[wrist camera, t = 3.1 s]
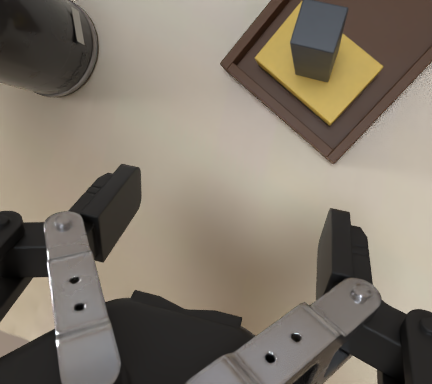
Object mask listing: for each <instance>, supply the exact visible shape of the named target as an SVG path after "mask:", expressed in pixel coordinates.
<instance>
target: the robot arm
mask: <svg viewBox="0 0 432 384" xmlns="http://www.w3.org/2000/svg"><path fill="white" fill-rule="evenodd" d="M97 49H98V43H97V35H96V31H95V28H94V25H93V23H92V21H91V19H90V18H89V16H88V15H87V14H86V12H85V11H84V10H83V9H82V8H80V7H79V6H78V5H76V4H75V3H73V2H72V1H70V0H0V83H3V84H7V85H10V86H14V87H18V88H21V89H25V90H29V91H33V92H35V93H37V94H40V95H44V96H48V97H61V96H65V95H68V94H70V93H72V92H74V91H75V90H77V89H78V88H79V87H81V86H82V85H83V84H84V82H85V81H86V80H87V79H88V77H89V76H90V74H91V72H92V70H93V68H94V65H95V62H96V58H97ZM140 203H141V171H140V168H139V167H134V166H130V165H125V164H121V165H120V166H119V167H118V169H117V170H116V171H115V172H114V173H113V174H112V173H107V174H105V175H103V176H101V177H99V178H98V179H97V180H96V181H95V182H94V183H93V184H92V185H91V187H89V189H88V190H87V191H86V193H84V194H83V195H82V196H81V197H80V199H79V200H78V201H77V202H76V203H75V204H74V205H73V206H72V207H71V209H70V210H69V211H64V212H59V213H55V214H53V215H51V216H50V217H48V218H47V219H46V220H45V222H34V223H23V220H22V217H21V215H20V214H18V213H16V212H13V211H1V212H0V322H1V320H2V319H3V318H4V316H5V315H6V314H7V312H8V311H9V310H10V308H11V307H12V305H13V304H14V303H15V301H16V300H17V299H18V297H19V296H20V295H21V293H22V292H23V291H24V289H25V288H26V287H27V285H28V284H29V282H30V281H31V280H32V278H33V277H49V283H50V291H51V299H52V307H53V315H54V323H55V329H53V330H51V331H50V332H48V333H46V334H44V335H42V336H40V337H38V338H36V339H35V340H33V341H31V342H29V343H27V344H25V345H23V346H21V347H20V348H18V349H16V350H14V351H12V352H10V353H8V354H7V355H5V356H3V357H1V358H0V384H323V383H324V382H325V381H326V380H327V379H329V378H330V377H331V376H332V375H333V374H334V373H335V372H336V371H337V370H338V369H339V368H340V367H341V366H342V365H343V364H344V363H345V362H346V361H347V360H348V359H350V358H351V357H352V356H355V357H356V358H358V359H360V360H362V361H363V362H365V363H367V364H369V365H370V366H372V367H374V368H376V369H377V380H378V384H432V313H431V312H429V311H426V310H421V309H415V310H412V311H410V312H409V313H408V314H405V313H403V312H401V311H399V310H397V309H395V308H393V307H391V306H389V305H388V304H386V303H385V302H384V301H382V300H381V295H380V293H379V291H378V290H377V289H376V288H375V287H374V286H373V283H372V274H371V266H370V257H369V249H368V241H367V236H366V235H365V233H364V232H363V230H362V229H361V227H357V226H352V225H351V221H350V212H346V211H342V210H337V209H332V208H330V210H329V212H328V215H327V218H326V221H325V224H324V227H323V230H322V233H321V237H320V240H319V245H318V254H317V282H316V301H315V302H314V303H312V304H311V305H308V304H307V303H305V302H304V303H301V304H299V305H298V306H297V307H295V308H294V309H292V310H291V311H290V312H288V313H287V314H286V315H284V316H283V317H281V318H280V319H279V320H277V321H276V322H275V323H273V324H272V325H271V326H269V327H268V328H266V329H265V330H264V331H262V332H261V333H260V334H258V335H257V336H255V335H253V334H252V333H251V332H250V331H248V330H247V329H245V328H243V327H241V321H242V317H238V316H234V315H230V314H227V313H223V312H219V311H213V310H187V309H183V308H181V307H179V306H177V305H176V304H174V303H172V302H170V301H168V300H166V299H164V298H162V297H160V296H156V295H152V294H149V293H145V292H141V291H137V290H135V291H134V292H133V294H132V296H131V298H121V299H115V300H111V301H108V302H105V300H104V297H103V293H102V289H101V285H100V281H99V277H98V273H97V269H96V265H95V261H99V262H104V261H105V259H106V258H107V256H108V255H109V253H110V252H111V250H112V249H113V247H114V246H115V244H116V243H117V241H118V240H119V238H120V237H121V235H122V234H123V232H124V231H125V229H126V228H127V226H128V225H129V223H130V222H131V220H132V219H133V217H134V215H135V214H136V212H137V211H138V209H139V207H140ZM94 260H95V261H94Z"/></svg>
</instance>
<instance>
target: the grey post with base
mask: <svg viewBox="0 0 432 384" xmlns="http://www.w3.org/2000/svg"><path fill="white" fill-rule="evenodd" d="M347 13H348V7H344V6H339V5H334V4H329V3H324V2H320V1H315V0H303V1H301V2H300V4H299V5H298V6H297V7H296V8H295V10H294V11H293V12H292V13H291V14H290V16H289V17H288V18H287V19H286V20H285V22H284V23H283V24H282V25H281V27H280V28H279V29H278V30H277V31H276V33H275V34H274V35H273V36H272V37H271V39H270V40H269V41H268V42H267V43H266V45H265V46H264V47H263V48H262V49H261V51H260V52H259V53H258V54H257V55H256V57H255V60H256V62H257V63H258V66H259V67H260V68H262V69H263V70H264V71H265V72H266V73H267V74H268V75H270V76H271V77H272V78H273V79H274V80H275V81H277V82H278V83H279V84H280V85H281V86H282V87H284V88H285V89H286V90H287V91H288V92H289V93H291V94H292V95H293V96H294V97H295V98H296V99H298V100H299V101H300V102H301V103H302V104H303V105H305V106H306V107H307V108H308V109H309V110H310V111H312V112H313V113H314V114H315V115H316V116H317V117H318V118H320V119H321V120H322V121H323V122H324V123H325V124H327V125H328V126H329V127H330V126H331V125H332V124H333V123H334V122H335V121H336V120H337V118H338V117H339V116H340V115H341V114H342V113H343V112H344V111H345V110H346V109H347V108H348V107H349V105H350V104H351V103H352V102H353V101H354V100H355V99H356V98H357V97H358V96H359V95H360V94H361V92H362V91H363V90H364V89H365V88H366V87H367V86H368V85H369V84H370V83H371V82H372V81H373V79H374V78H375V77H376V76H377V75H378V74H379V72H380V71H381V70H382V68H383V66H382V65H381V64H380V63H379V62H378V61H376V60H375V59H374V58H373V57H371V56H370V55H369V54H368V53H366V52H365V51H364V50H363V49H362V48H360V47H359V46H358V45H357V44H355V43H354V42H353V41H352V40H350V39H349V38H348V37H347V36H346V35H344V34H343V30H344V26H345V22H346V17H347Z"/></svg>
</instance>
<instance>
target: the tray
mask: <svg viewBox="0 0 432 384" xmlns="http://www.w3.org/2000/svg"><path fill="white" fill-rule="evenodd" d="M301 1H303V0H271V1H270V2H269V4H268V5H267V6H266V7H265V8H264V10H263V11H262V12H261V13H260V15H259V16H258V17H257V18H256V20H255V21H254V22H253V23H252V25H251V26H250V27H249V28H248V29H247V31H246V32H245V33H244V34H243V36H242V37H241V38H240V39H239V41H238V42H237V43H236V44H235V46H234V47H233V48H232V49H231V50H230V52H229V53H228V54H227V55H226V57H225V58H224V59H223V60H222V62H221V63H220V65H221V66H222V67H223V68H224V69H225V70H226V71H227V72H228V73H229V74H230V75H232V76H233V77H234V78H235V79H236V80H237V81H238V82H240V83H241V84H242V85H243V86H244V87H245V88H246V89H248V90H249V91H250V92H251V93H252V94H253V95H254V96H256V97H257V98H258V99H259V100H260V101H261V102H262V103H264V104H265V105H266V106H267V107H268V108H269V109H270V110H272V111H273V112H274V113H275V114H276V115H277V116H278V117H280V118H281V119H282V120H283V121H284V122H285V123H286V124H288V125H289V126H290V127H291V128H292V129H293V130H294V131H296V132H297V133H298V134H299V135H300V136H301V137H302V138H304V139H305V140H306V141H307V142H308V143H309V144H310V145H312V146H313V147H314V148H315V149H316V150H317V151H318V152H320V153H321V154H322V155H323V156H324V157H325V158H326V159H328V160H329V161H330V162H331V163H332V164H334V163H336V161H337V160H338V159H339V158H340V157H341V156H342V155H343V154H344V153H345V152H346V151H347V150H348V149H349V148H350V147H351V146H352V145H353V144H354V143H355V141H356V140H357V139H358V138H359V137H360V136H361V135H362V134H363V133H364V132H365V131H366V130H367V129H368V128H369V127H370V126H371V125H372V124H373V123H374V121H375V120H376V119H377V118H378V117H379V116H380V115H381V114H382V113H383V112H384V111H385V110H386V109H387V108H388V107H389V106H390V105H391V104H392V103H393V102H394V100H395V99H396V98H397V97H398V96H399V95H400V94H401V93H402V92H403V91H404V90H405V89H406V88H407V87H408V86H409V85H410V84H411V83H412V82H413V80H414V79H415V78H416V77H417V76H418V75H419V74H420V73H421V72H422V71H423V70H424V69H425V68H426V67H427V66H428V65H429V64H430V63H431V62H432V0H315V1H320V2H324V3H329V4H334V5H339V6H344V7H348V13H347V17H346V22H345V26H344V30H343V34H344V35H346V36H347V37H348V38H349V39H350V40H352V41H353V42H354V43H355V44H357V45H358V46H359V47H360V48H362V49H363V50H364V51H365V52H366V53H368V54H369V55H370V56H371V57H373V58H374V59H375V60H376V61H378V62H379V63H380V64H381V65H382V66H383V68H382V70H381V71H380V72H379V74H378V75H377V76H376V77H375V78H374V79H373V81H372V82H371V83H370V84H369V85H368V86H367V87H366V88H365V89H364V90H363V91H362V92H361V94H360V95H359V96H358V97H357V98H356V99H355V100H354V101H353V102H352V103H351V104H350V105H349V107H348V108H347V109H346V110H345V111H344V112H343V113H342V114H341V115H340V116H339V117H338V118H337V120H336V121H335V122H334V123H333V124H332V125H331V126H330V127H329V126H328V125H327V124H325V123H324V122H323V121H322V120H321V119H320V118H318V117H317V116H316V115H315V114H314V113H313V112H312V111H310V110H309V109H308V108H307V107H306V106H305V105H303V104H302V103H301V102H300V101H299V100H298V99H296V98H295V97H294V96H293V95H292V94H291V93H289V92H288V91H287V90H286V89H285V88H284V87H282V86H281V85H280V84H279V83H278V82H277V81H275V80H274V79H273V78H272V77H271V76H270V75H268V74H267V73H266V72H265V71H264V70H263V69H262V68H260V67H259V66H258V63H257V62H256V60H255V57H256V55H257V54H258V53H259V52H260V51H261V49H262V48H263V47H264V46H265V45H266V43H267V42H268V41H269V40H270V39H271V37H272V36H273V35H274V34H275V33H276V31H277V30H278V29H279V28H280V27H281V25H282V24H283V23H284V22H285V20H286V19H287V18H288V17H289V16H290V14H291V13H292V12H293V11H294V10H295V8H296V7H297V6H298V5H299V4H300V2H301Z"/></svg>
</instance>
